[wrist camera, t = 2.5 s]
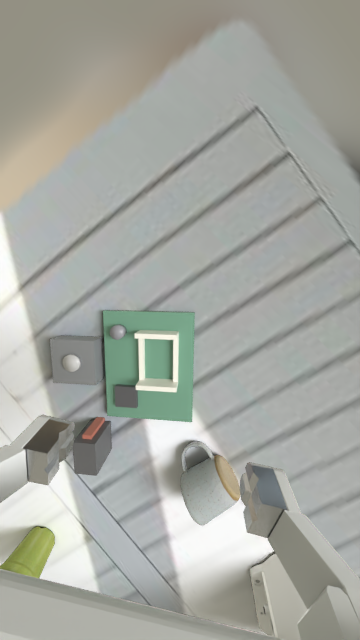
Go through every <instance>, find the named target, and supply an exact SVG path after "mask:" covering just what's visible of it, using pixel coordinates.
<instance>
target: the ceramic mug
mask: <svg viewBox="0 0 360 640" xmlns="http://www.w3.org/2000/svg"><path fill="white" fill-rule="evenodd" d="M197 446H198V447H201V448H203V449H204V450H205V451H206V452H207V454H208V455H209V458H208V459H206V460H205V461H203V462H201V463H199V464H197V465H195V466H193V467H191V468H190V469H188V468H187V465H186V461H185V452H186V450H188V449H189V448H191V447H197ZM181 461H182V467H183V470H184V473H183V474H182V477H181V490H182V495H183V499H184V502H185V505H186V507H187V509H188V511H189V513H190V515H191V517H192V518H193V520H194V521H195V522H196V523H197V524H199V525H205V524H207V523H208V522H209V521H211V520H212V519H214V518H215V517H217V516H218V515H220V514H221V513H223V512H224V511H226V510H227V509H229V508H230V507H232V506H233V505H234V504H235V503H236V502H237V501H238V500H239V498H240V488H239V484H238V481H237V478H236V476H235V474H234V472H233V470H232V468H231V467H230V465H229V463H228V462H227V461H226V460H225V459H224V458H223V457H222V456H220V455H215V456H214V455H213V454H212V452H211V450H210V449H209V448H208V447H207V446H206V445H205V444H204V443H202V442H198V441H194V442H191V443H189V444H188V445H187V446H186V447H185V448H184V450H183V452H182V458H181Z"/></svg>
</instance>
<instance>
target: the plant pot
mask: <svg viewBox="0 0 360 640" xmlns="http://www.w3.org/2000/svg"><path fill="white" fill-rule="evenodd" d="M54 538H55V537H54V535H53V533H52V532H51V531H50V530H49V529H47V528H40V527H39V526H38V527H35V528H33V529H32V530H31V531H30V532H29V534H28V535H27V536H26V537H25V538H24V540H23V541H22V542H21V543H20V544H19V546H18V547H17V548H16V549H15V550H14V552H13V553H12V554H11V555H10V556H9V558H8V559H7V560H6V561H5V562H4V563H3V564H2V565H1V566H0V569H3V570H7V571H11V572H15V573H19V574H23V575H27V576H31V577H35V578H39V577H40V575H41V573H42V570H43V568H44V566H45V564H46V561H47V559H48V557H49V555H50V553H51V551H52V548H53V546H54V544H55V542H54Z"/></svg>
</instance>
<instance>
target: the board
mask: <svg viewBox="0 0 360 640" xmlns="http://www.w3.org/2000/svg"><path fill="white" fill-rule="evenodd" d="M194 317H195V312H163V311H120V310H105V311H103V324H104V347H105V370H106V393H107V416H116V417H130V418H143V419H157V420H170V421H184V422H192V402H193V360H194Z"/></svg>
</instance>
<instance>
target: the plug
mask: <svg viewBox="0 0 360 640" xmlns="http://www.w3.org/2000/svg"><path fill="white" fill-rule="evenodd" d="M111 449H112V442H111V421H105V418H102V417H97V418H96V419H95V420H91V421H90V422H89V423H88V424H87V426H86V427H85V428H84V429H83V430H82V432H81V433H80V434H79V435H78V436H77V438H76V439H75V440H74V443H73V456H74V470H75V473H76V474H86V475H95V476H97V474H98V473H99V471H100V469H101V467H102V465H103V464H104V462H105V460H106V458H107V456H108V455H109V453H110V451H111Z"/></svg>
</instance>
